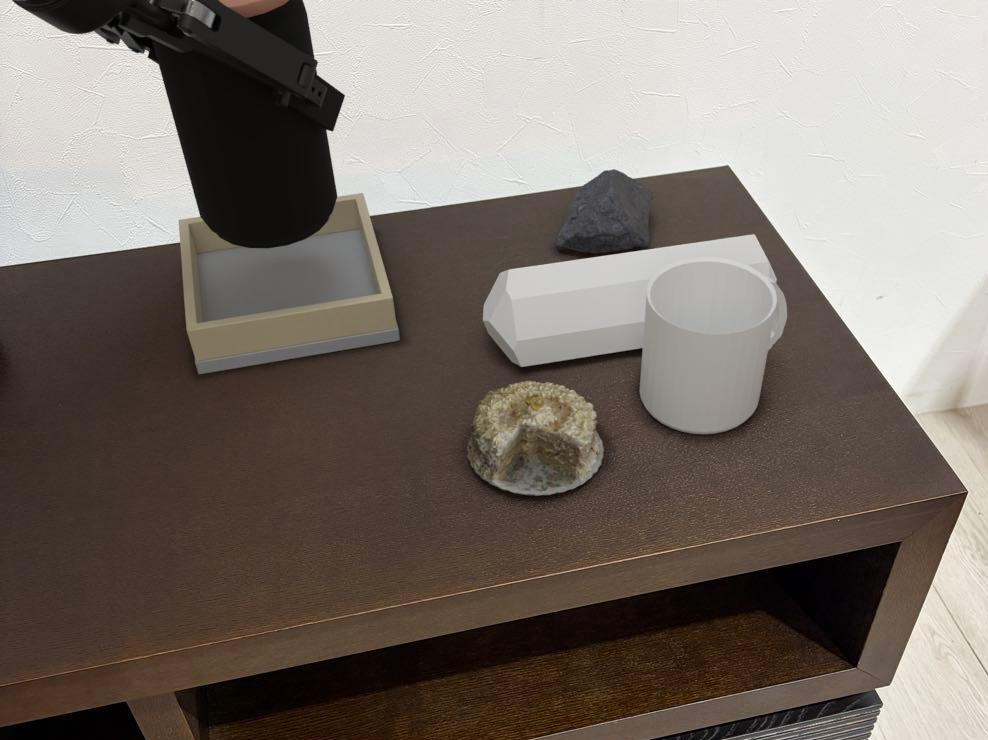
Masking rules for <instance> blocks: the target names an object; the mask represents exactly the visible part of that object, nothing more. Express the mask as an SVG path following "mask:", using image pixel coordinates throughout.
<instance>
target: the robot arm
mask: <svg viewBox="0 0 988 740" xmlns="http://www.w3.org/2000/svg"><path fill="white" fill-rule="evenodd" d="M11 1H12V2H13V3H14V4H15V5H16V6H17V7H19V8H21V9H23V10H25V11H26V12H28V13H30V14H31V15H33V16H35V17H36V18H37V19H40V20H42V21H44V22H45V23H47V24H48V25H50V26H52V27H54V28H56V29H57V30H60V31H61V32H64V33H67V34H71V35H85V34H90V33H93V32H94V33H95V34H97V35H98V36H100V37H101V38H102V39H104V40H105V42H107V44H110V45H114V44H115V45H120V42H122V43H123V44H124V45H125V46H126V47H127V48H128V49H129V50H131V51H132V52H133V53H134V54H143V55H145V52H146V51H147V52H148V55H147V59H149V60H151V61H152V62H154V63H156V64H157V65H159V64H158V60H157V57H156V53H155V49H154V46H153V42H152V39H153V40H155V41H158V42H160V43H162V44H164V45H166V46H168V47H170V48H172V49H174V50H176V51H178V52H181V53H184V52H190V51H192V50H194V51H196V52H198V53H200V54H202V55H204V56H206V57H208V58H210V59H212V60H214V61H216V62H218V63H220V64H222V65H224V66H226V67H228V68H230V69H232V70H234V71H236V72H238V73H240V74H242V75H244V76H246V77H248V78H250V79H252V80H254V81H256V82H258V83H260V84H262V85H264V86H266V87H268V88H270V89H272V90H273V92H272V95H274V96H275V97H277V99H276V102H275V104H277V105H279V106H282V107H285V108H287V106H288V105H289V106H290V107H292V108H293V109H295V110H296V111H298V112H299V113H301V114H302V115H304V116H306V117H307V118H308V119H310V120H312V121H313V122H315V123H316V124H318V125H319V126H321V127H322V128H324V129H326V131H330V132H332V133H333V132H334V130H335V128H336V124H337V121H338V119H339V115H340V112H341V109H342V106H343V103H344V100H345V97H346V95H345V94H344V93H343V92H341V91H340V90H339V89H337V88H336V87H335V86H333V85H332V84H331V83H329V82H328V81H327V80H325V79H324V78H322V77H321V76H319V75H318V73H317V74H315V71H316V70H317V67H318V64H319V62H318V60H317V59H314V58H315V57H314V58H313V57H312V56H310V55H307V54H305V53H303V52H302V51H300V50H298V49H297V48H295V47H293V46H292V45H290V44H288V43H287V42H285V41H283V40H282V39H280V38H278V37H277V36H275V35H273V34H272V33H270V32H269V31H267V30H265V29H264V28H262V27H260V26H259V25H257V24H255V23H254V22H252V21H250V20H249V19H247V18H245V17H244V16H242V15H240V14H239V13H237V12H235V11H234V10H232V9H230V8H229V7H227V6H225V5H224V4H223V3H221V2H220V1H219V0H11ZM178 18H179V20H178ZM177 20H178V23H177ZM176 23H177V27H178V28H180V29H181V31H180V34H179V37H178V39H177V38H175V37H173V36H171V35H169V33H171V32H173V30H174V29H175V26H176Z"/></svg>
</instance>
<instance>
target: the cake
mask: <svg viewBox="0 0 988 740" xmlns="http://www.w3.org/2000/svg"><path fill="white" fill-rule="evenodd" d="M597 416H598V415H597V413H596V411H595V410H594V405H593V403H591V402H587V400H585V397H584V396H581V395H580V394H579V393H578V392H576V390H575V389H569V388H567V387H566V386H565V385H562V384H561V385H559V384H555V383H554V382H550V381H549V382H548V381H546V382H539V381H537V382H536V381H535V380H534V381H533V380H526V381H520V382H515V383H510V384H508V385H507V386H506V387H503V386H502V387H501V388H496V390H494V391H492V390H491V389H490V390H489V391H488V392H487V394H484V397H483V399H480V400H478V405H477V407H476V409H475V412H474V418H473V422H472V423H471V427H470V429H471V430H470V431H471V434H470V435H469V439H468V441H467V442H466V445H465V446H466V447H465V450H466V453H467V454H466V457H467V459H468V461H469V466H470V467H471V468H472V469H473V471H474V473H475V474H477V475H478V476H479V477H480V479H482V480H483V481H484V482H487V483H488V485H491V486H494V487H496V488H498V489H499V490H502V491H507V492H510V493H512V494H519V495H522V496H523V495H524V496H536V497H537V496H550V495H554V494H557V493H558V494H560V493H565V492H566V491H570V490H574V489H576V488H577V487H580V486H582V485H584V484H585V483H586V482H587V481H588V480H590V479H591V478H593V476H594V475H595V474H596V473H597V472H598V470H599V468H600V466H602V463H603V462H602V461H603V458H604V456H605V455H604V451H605V449H604V448H605V447H604V444H603V439H601V437H600V435H599V433H598V430H597V424H598V418H597Z"/></svg>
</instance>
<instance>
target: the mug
mask: <svg viewBox="0 0 988 740" xmlns="http://www.w3.org/2000/svg"><path fill="white" fill-rule="evenodd" d="M787 306H788V305H787V299H786V297H785V294H784V292H783V290H782V289H781V288H780V286H779V285H778V284H777V282H776V283H775V282H774V281H773V280H771V279H770V278H769V277H768V276H764V275H763V274H761V273H760V272H758V271H757V270H755V269H753V268H752V267H750V266H747V265H745V264H743V263H740V262H736V261H733V260H729V259H723V258H714V257H699V258H690V259H684V260H680V261H677V262H674V263H671V264H669V265H667V266H665V267H663V268H662V269H661V270H659V271H658V272H657V273H655V275H654V276H653V277H652V278H651V280H650V282H649V284H648V286H647V296H646V310H645V323H644V337H643V348H642V351H641V366H640V367H641V368H640V380H639V392H638V393H639V396H640V397H639V398H640V400H641V402H642V405H643V406H644V408H645V409H646V411H647V412H648V413H649V414H650V415H651V417H653V418H654V419H655V420H656V421H658V422H659V423H660V424H663V425H664V426H666V427H667V428H670V429H673V430H676V431H679V432H683V433H687V434H691V435H713V434H714V435H715V434H719V433H724V432H728V431H731V430H733V429H736V428H737V427H739V426H740V425H742V424H744V423H745V422H746V421H747V420H748V419H749V418H750V417H752V416H753V414H754V413H755V411H756V409H757V408H758V406H759V401H760V397H761V393H762V391H761V390H762V386H763V381H764V375H765V370H766V363H767V359H768V358H767V357H768V353H769V350H771V349H772V348H773V346H774V345H775V344H776V343H777V341H778V340H779V339H780V338H781V337H782V335H783V333H784V330H785V326H786V323H787V320H788V307H787Z"/></svg>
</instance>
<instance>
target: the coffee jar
mask: <svg viewBox="0 0 988 740" xmlns="http://www.w3.org/2000/svg"><path fill="white" fill-rule="evenodd" d="M219 1H220V2H221V3H223V4H224V5H225V6H227V7H229V8H230V9H232V10H234V11H235V12H237V13H239V14H240V15H242V16H244V17H245V18H247V19H249V20H250V21H252V22H254V23H255V24H257V25H259V26H260V27H262V28H264V29H265V30H267V31H269V32H270V33H272V34H273V35H275V36H277V37H278V38H280V39H282V40H283V41H285V42H287V43H288V44H290V45H292V46H293V47H295V48H297V49H298V50H300V51H302V52H303V53H305V54H307V55H310V56H312V57H313V58H314V59H315V53H314V48H313V47H314V46H313V41H312V36H311V28H310V23H309V15H308V12H307V9H306V6H305V2H304V0H219ZM178 20H179V18H178ZM178 20H177V23H178ZM177 23H176V26H175V29H174V30H173V32H171V33H169V35H171V36H173V37H175V38H177V39H178V37H179V34H180V31H181V29H180V28H178V27H177ZM152 42H153V46H154V49H155V53H156V57H157V60H158V64H157V65H158V67H159V71H160V75H161V78H162V82H163V86H164V89H165V93H166V97H167V100H168V103H169V107H170V110H171V115H172V117H173V118H172V119H173V122H174V126H175V129H176V133H177V137H178V140H179V145H180V147H181V152H182V154H183V158H184V162H185V165H186V169H187V173H188V177H189V180H190V184H191V188H192V192H193V195H194V199H195V202H196V203H195V204H196V205H197V206H196V207H197V210H198V213H199V217H201V218H202V220H203V221H204V222H205V223H206V224H207V226H208V227H209V228H210V229H211V230H212V231H213V232H214V233H216V234H217V235H218V236H219V237H220V238H221V239H223V240H225V241H227V242H229V243H231V244H233V245H237V246H242V247H246V248H274V247H281V246H287V245H290V244H293V243H296V242H299V241H302V240H305V239H306V238H308V237H310V236H311V235H313V234H315V233H316V232H318V231H319V230H320V229H321V228H322V227H323V226H324V225H325V224H326V223H327V222H328V220H329V217H330V215H331V214H332V212H333V209H334V206H335V203H336V199H337V197H338V190H337V186H336V179H335V173H334V168H333V162H332V155H331V149H330V144H329V137H328V130H326V129H324V128H322V127H321V126H319V125H318V124H316V123H315V122H313V121H312V120H310V119H308V118H307V117H306V116H304V115H302V114H301V113H299V112H298V111H296V110H295V109H293V108H292V107H290V106H289V105H288V106H287V108H285V107H282V106H279V105H277V104H275V102H276V99H277V97H275V96H274V95H272V92H273V90H272V89H270V88H268V87H266V86H264V85H262V84H260V83H258V82H256V81H254V80H252V79H250V78H248V77H246V76H244V75H242V74H240V73H238V72H236V71H234V70H232V69H230V68H228V67H226V66H224V65H222V64H220V63H218V62H216V61H214V60H212V59H210V58H208V57H206V56H204V55H202V54H200V53H198V52H196V51H194V50H192V51H190V52H184V53H181V52H178V51H176V50H174V49H172V48H170V47H168V46H166V45H164V44H162V43H160V42H158V41H155V40H153V39H152ZM315 60H316V59H315ZM315 74H317V75H318V71H317V69H316V71H315Z"/></svg>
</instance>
